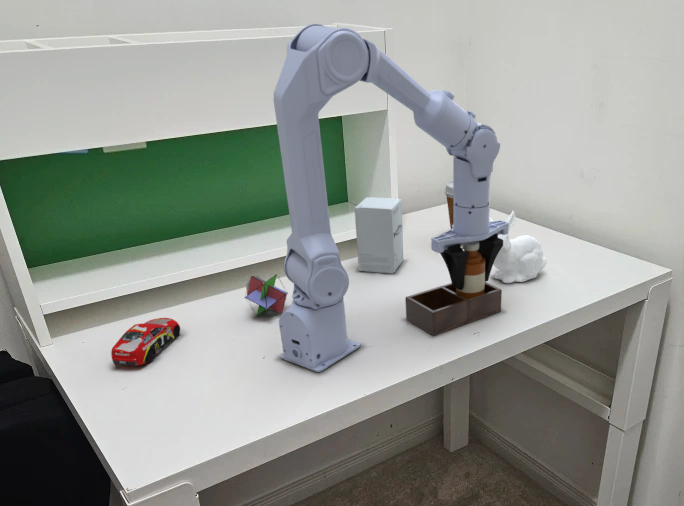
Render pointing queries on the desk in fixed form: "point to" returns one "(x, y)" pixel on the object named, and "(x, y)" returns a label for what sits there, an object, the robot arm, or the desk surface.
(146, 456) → the desk surface
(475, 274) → the amber bottle
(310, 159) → the robot arm
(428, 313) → the wooden compartment tray
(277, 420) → the desk surface
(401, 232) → the white packaging box
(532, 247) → the rabbit
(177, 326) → the race car
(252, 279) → the geometric puzzle
